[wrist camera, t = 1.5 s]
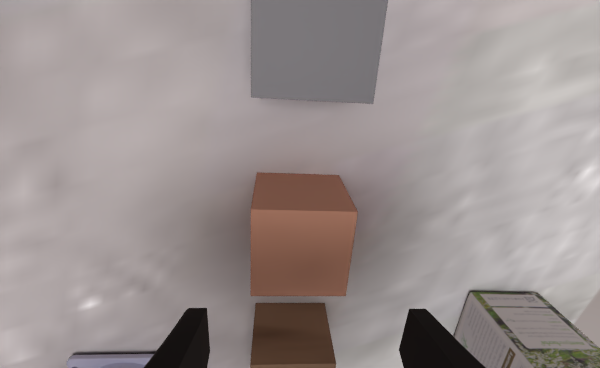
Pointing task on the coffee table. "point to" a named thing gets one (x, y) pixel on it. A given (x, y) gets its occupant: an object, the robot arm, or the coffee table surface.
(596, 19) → the coffee table surface
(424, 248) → the coffee table surface
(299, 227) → the terracotta cube
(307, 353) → the walnut cube
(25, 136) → the coffee table surface
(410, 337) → the robot arm
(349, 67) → the charcoal grey cube
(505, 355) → the syrup box
